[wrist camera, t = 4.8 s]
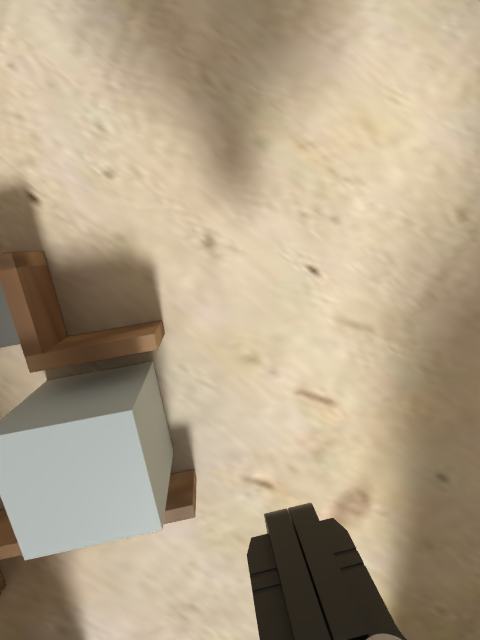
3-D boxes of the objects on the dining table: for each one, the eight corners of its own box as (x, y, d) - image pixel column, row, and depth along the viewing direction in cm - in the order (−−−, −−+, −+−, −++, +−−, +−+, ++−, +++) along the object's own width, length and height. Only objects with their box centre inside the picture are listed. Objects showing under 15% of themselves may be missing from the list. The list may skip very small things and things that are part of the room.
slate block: (153, 360, 19) (132, 410, 14) (173, 450, 21) (162, 530, 15) (47, 380, 19) (-22, 439, 13) (75, 470, 20) (25, 560, 15)
